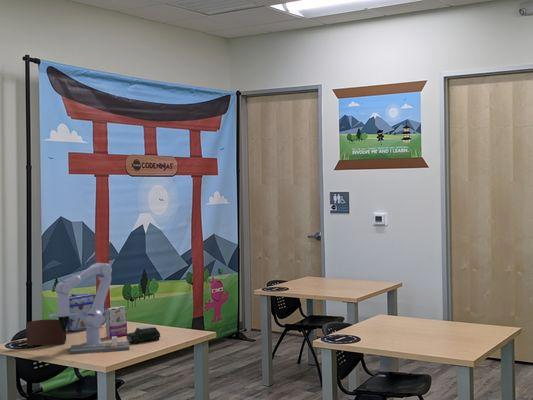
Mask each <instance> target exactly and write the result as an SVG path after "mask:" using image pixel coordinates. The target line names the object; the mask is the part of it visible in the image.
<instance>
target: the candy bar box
mask: <svg viewBox="0 0 533 400" xmlns="http://www.w3.org/2000/svg"><path fill="white" fill-rule="evenodd" d="M105 318H106V322H105V334H106V338H108V339H112V337H114V336H117V338H119V337H123V336H126V335H127V334H128V323H127V322H128V321H127V307H126V306H125V305H121V306H113V307H109V308H106V309H105Z"/></svg>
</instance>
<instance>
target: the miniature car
mask: <svg viewBox="0 0 533 400" xmlns="http://www.w3.org/2000/svg"><path fill="white" fill-rule="evenodd" d="M125 336H126V338H125V339H126V341H129V342H132V343H133V344H134V345H137V344H139V342H141V341H142V342H143V341H147V340H154V341H155V340H158V341H159V340H160V338H161V333H160V331H159V330H158V329H157V328H156V326H154V325H141V326H138V327H136V329H135V330H134V332H127V335H125Z"/></svg>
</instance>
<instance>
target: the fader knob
mask: <svg viewBox="0 0 533 400" xmlns="http://www.w3.org/2000/svg"><path fill="white" fill-rule="evenodd" d="M117 339H118V337H117V336H114V337H112V338H111V343H112V346H117V342H118V340H117Z"/></svg>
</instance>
